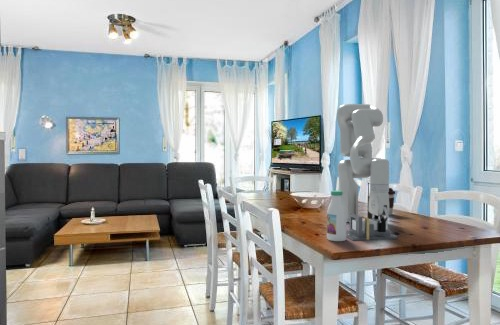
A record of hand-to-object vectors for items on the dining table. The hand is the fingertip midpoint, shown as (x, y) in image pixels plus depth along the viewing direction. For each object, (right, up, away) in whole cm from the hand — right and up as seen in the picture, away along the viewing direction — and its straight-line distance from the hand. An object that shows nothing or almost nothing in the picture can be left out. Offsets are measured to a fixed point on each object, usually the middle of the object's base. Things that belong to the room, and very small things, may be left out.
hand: (379, 230), depth 157 cm
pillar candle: (+8, -2, +26) cm, 28 cm away
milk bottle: (-20, -3, -6) cm, 21 cm away
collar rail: (-5, -2, -1) cm, 5 cm away
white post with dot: (-4, +1, -1) cm, 4 cm away
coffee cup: (+22, -1, +53) cm, 57 cm away
